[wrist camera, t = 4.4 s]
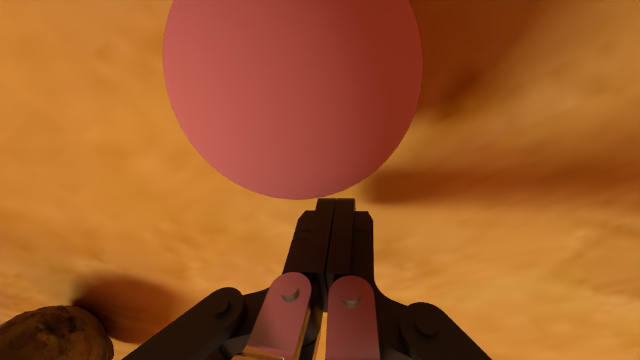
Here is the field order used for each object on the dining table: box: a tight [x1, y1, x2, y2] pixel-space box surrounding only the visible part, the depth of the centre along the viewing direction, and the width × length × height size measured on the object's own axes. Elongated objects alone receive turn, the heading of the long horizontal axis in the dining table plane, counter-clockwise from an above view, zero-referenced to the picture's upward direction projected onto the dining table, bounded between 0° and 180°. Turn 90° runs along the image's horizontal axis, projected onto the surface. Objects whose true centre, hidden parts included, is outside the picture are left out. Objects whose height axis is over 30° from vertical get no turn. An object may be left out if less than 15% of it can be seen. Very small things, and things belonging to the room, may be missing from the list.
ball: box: [163, 0, 423, 200], centre depth 7 cm, size 6×6×6 cm
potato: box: [0, 305, 114, 360], centre depth 22 cm, size 8×13×8 cm, turn 142°
